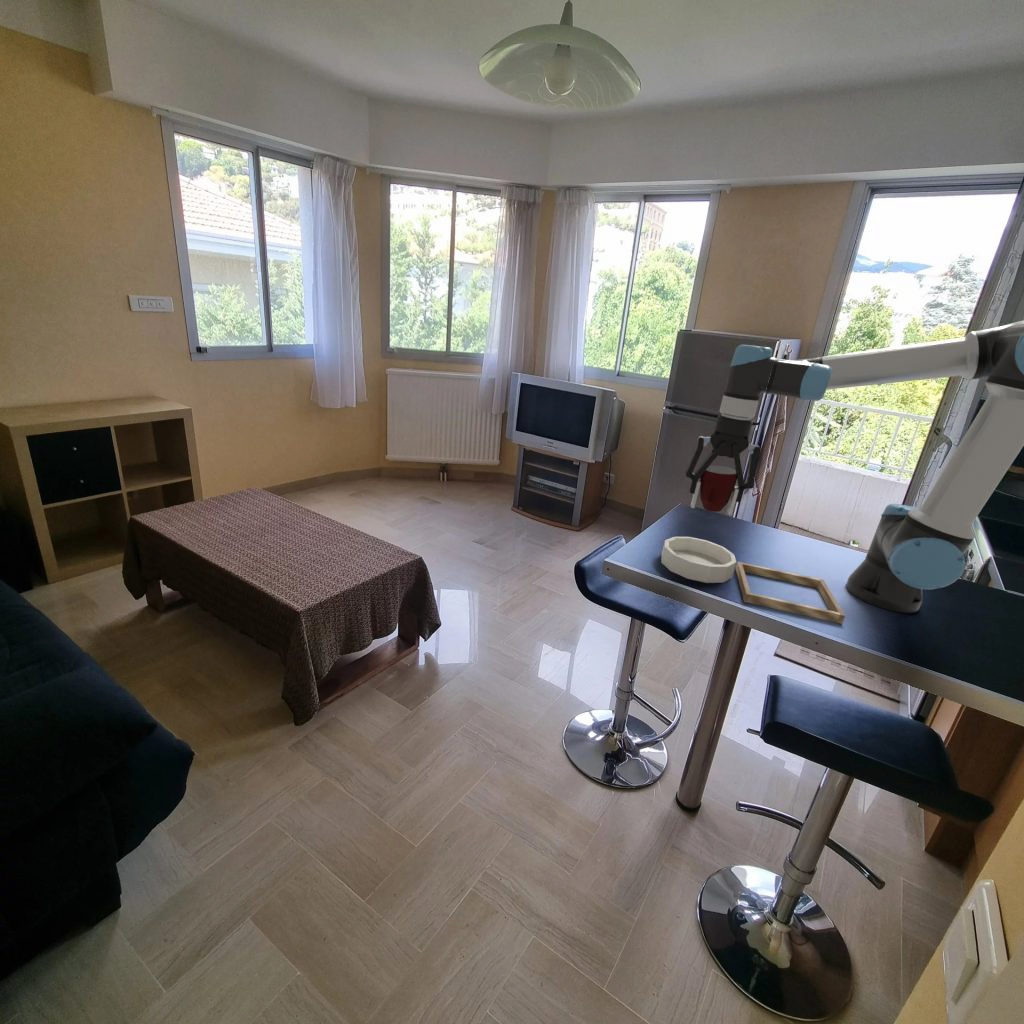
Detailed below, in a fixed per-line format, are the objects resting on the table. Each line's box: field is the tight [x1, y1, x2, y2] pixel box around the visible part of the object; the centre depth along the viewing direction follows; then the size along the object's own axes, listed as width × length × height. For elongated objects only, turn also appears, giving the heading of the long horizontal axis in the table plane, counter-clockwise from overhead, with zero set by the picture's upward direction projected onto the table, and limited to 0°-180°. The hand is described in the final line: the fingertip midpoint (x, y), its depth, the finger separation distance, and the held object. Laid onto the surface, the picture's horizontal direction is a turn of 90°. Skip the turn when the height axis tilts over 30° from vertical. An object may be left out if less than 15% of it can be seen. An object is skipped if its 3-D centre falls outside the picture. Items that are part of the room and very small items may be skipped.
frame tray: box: [734, 561, 846, 625], centre depth 121 cm, size 20×18×2 cm
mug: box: [699, 464, 738, 513], centre depth 124 cm, size 10×8×10 cm
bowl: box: [660, 536, 737, 584], centre depth 130 cm, size 17×17×4 cm
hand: (710, 509), depth 125 cm, fingers closed on mug, 8 cm apart
